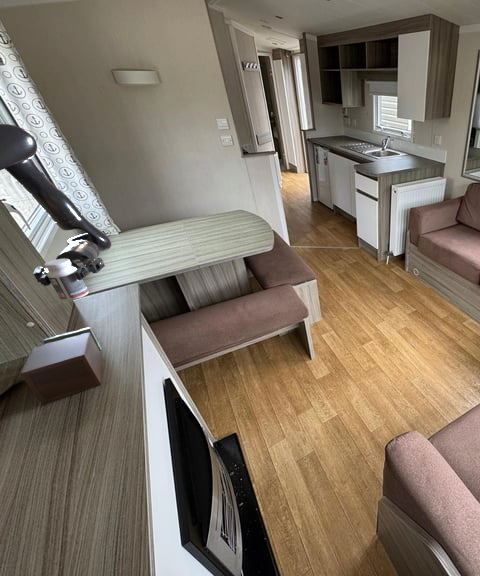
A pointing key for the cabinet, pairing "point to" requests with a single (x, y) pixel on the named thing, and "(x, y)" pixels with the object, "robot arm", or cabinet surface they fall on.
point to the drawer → (72, 334)
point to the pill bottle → (65, 280)
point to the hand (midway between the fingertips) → (61, 279)
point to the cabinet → (63, 368)
